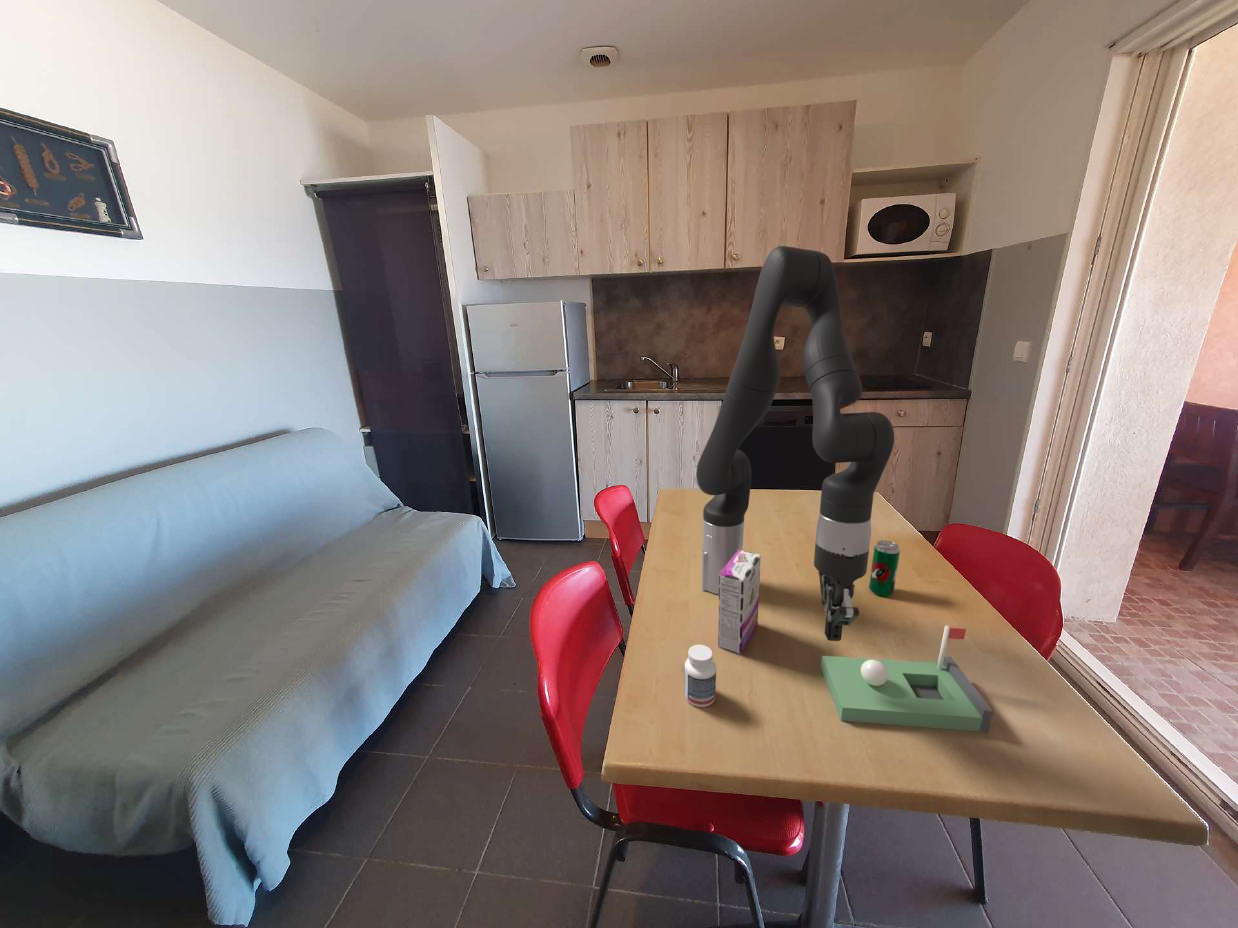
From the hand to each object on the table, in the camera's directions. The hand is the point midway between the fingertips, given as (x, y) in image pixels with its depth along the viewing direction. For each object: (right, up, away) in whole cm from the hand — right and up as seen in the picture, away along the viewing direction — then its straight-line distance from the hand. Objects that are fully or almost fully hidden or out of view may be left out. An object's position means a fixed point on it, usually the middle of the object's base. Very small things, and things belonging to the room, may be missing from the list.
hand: (832, 638), depth 78 cm
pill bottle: (-21, -11, +3) cm, 24 cm away
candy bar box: (-11, -6, +18) cm, 22 cm away
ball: (+7, -6, +1) cm, 10 cm away
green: (+11, -10, +2) cm, 15 cm away
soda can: (+25, -1, +32) cm, 41 cm away
